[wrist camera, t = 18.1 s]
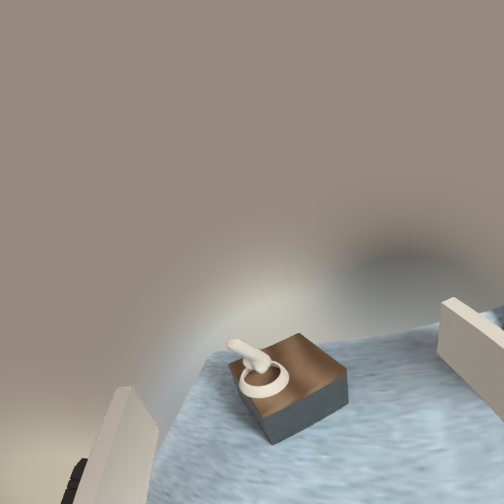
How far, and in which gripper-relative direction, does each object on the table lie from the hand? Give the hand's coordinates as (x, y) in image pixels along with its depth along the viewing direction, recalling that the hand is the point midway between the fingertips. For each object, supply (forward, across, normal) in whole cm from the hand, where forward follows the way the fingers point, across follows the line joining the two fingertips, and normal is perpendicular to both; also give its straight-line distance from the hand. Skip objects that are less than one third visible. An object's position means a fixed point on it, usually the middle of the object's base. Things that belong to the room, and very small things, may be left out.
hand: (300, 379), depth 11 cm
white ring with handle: (+26, -3, -22) cm, 35 cm away
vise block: (+28, 0, -30) cm, 41 cm away
